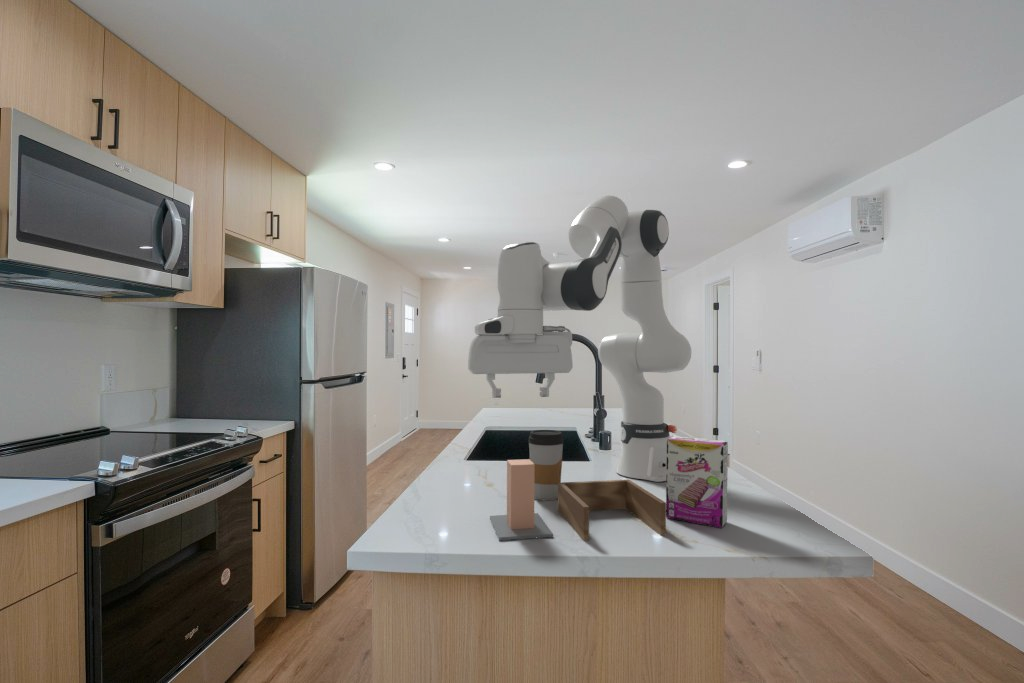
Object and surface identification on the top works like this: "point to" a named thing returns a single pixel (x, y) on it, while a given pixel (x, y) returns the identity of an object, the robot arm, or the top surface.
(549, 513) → the top surface
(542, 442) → the coffee cup
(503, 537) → the slate coaster
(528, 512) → the terracotta block
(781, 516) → the top surface
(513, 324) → the robot arm
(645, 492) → the walnut bay
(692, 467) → the candy bar box
